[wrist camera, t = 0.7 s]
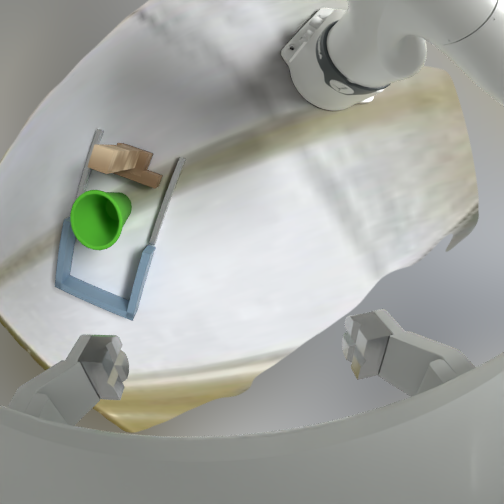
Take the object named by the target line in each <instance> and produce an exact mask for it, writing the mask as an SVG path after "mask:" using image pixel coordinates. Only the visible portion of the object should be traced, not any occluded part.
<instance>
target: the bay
mask: <svg viewBox="0 0 504 504" xmlns="http://www.w3.org/2000/svg"><path fill="white" fill-rule="evenodd" d="M75 239H76V236H75V235H74V233H73V230H72V227H71V222H70V217H68V218H66V219H64V222H63V228H62V234H61V240H60V246H59V253H58V261H57V270H56V280H55V287H57V288H59V289H61V290H63V291H65V292H67V293H69V294H71V295H73V296H75V297H78V298H80V299H82V300H84V301H86V302H89V303H91V304H93V305H96V306H98V307H100V308H103V309H105V310H107V311H110V312H112V313H115V314H117V315H119V316H122V317H125V318H127V319H130V320H132V321H133V318H134V316H135V314H136V312H137V310H138V306H139V302H140V298H141V295H142V291H143V288H144V284H145V281H146V277H147V274H148V270H149V267H150V264H151V260H152V257H153V254H154V251H155V248H156V247H154V246H151V245H147V247H146V248H145V249H144V251H143V252H142V256H141V259H140V263H139V266H138V270H137V274H136V277H135V281H134V285H133V289H132V293H131V297H130V301H129V300H127V299H124V298H122V297H119V296H117V295H114V294H112V293H109V292H107V291H105V290H102V289H100V288H98V287H95V286H93V285H91V284H88V283H86V282H84V281H82V280H79V279H77V278H75V277H73V276H71V275H70V270H71V263H72V256H73V250H74V244H75Z"/></svg>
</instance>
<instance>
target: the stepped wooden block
mask: <svg viewBox="0 0 504 504" xmlns="http://www.w3.org/2000/svg"><path fill="white" fill-rule="evenodd" d="M152 156H153V153H150V152H147V151H145V150H142V149H139V148H136V147H133V146H130V145H127V144H124V143H117V145H99V144H95V145H94V148H93V151H92V154H91V157H90V160H89V163H88V166H87V167H88V168H91V169H94V170H97V171H99V172H102V173H105V174H109V173H114V174H117V175H119V176H122V177H125V178H128V179H130V180H133V181H136V182H138V183H141V184H144V185H147V186H149V187H152V188H157V187H159V184H160V182H161V179H162V176H163V175H160V174H157V173H154V172H152V171H149V170H147V169H148V166H149V164H150V161H151V158H152Z"/></svg>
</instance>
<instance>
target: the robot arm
mask: <svg viewBox="0 0 504 504" xmlns="http://www.w3.org/2000/svg"><path fill="white" fill-rule="evenodd" d="M347 2H348V9H347V11H346V10H343V9H331V8H321V9H320V10H319V11H318V12H317V13H316V14H315V15H314V16H313V17H312V18H311V19H310V20H309V21H308V22H307V23H306V24H305V25H304V26H303V27H302V28H301V29H300V30H299V31H298V32H297V33H296V35H295V36H294V37H293V38H292V39H291V40H290V41H289V42H288V43H287V45H286V46H285V47H284V48H283V49H282V51H281V55H282V57H283V59H284V60H285V62H286V63H287V65H288V66H289V69H290V73H291V78H292V81H293V83H294V85H295V87H296V89H297V90H298V92H299V93H300V94H301V95H302V96H303V97H304V98H305V99H306V100H307V101H309V102H310V103H312V104H313V105H315V106H317V107H319V108H322V109H326V110H343V109H346V108H349V107H351V106H352V105H354V104H357V103H369V102H371V101H372V100H373V97H374V95H376V94H378V93H380V92H382V91H383V89H384V88H386V87H388V86H389V85H390V84H391V83H394V82H397V81H400V80H404V79H407V78H410V77H413V76H414V75H416V74H417V73H418V72H419V71H420V69H421V68H422V67H423V65H424V63H425V60H426V56H427V47H426V42H425V40H426V41H428V42H429V43H431V44H433V45H434V46H435V47H436V48H437V49H439V50H440V51H441V52H442V53H443V54H444V55H445V56H447V57H448V58H449V59H450V60H451V61H452V62H453V63H454V64H455V65H456V66H457V67H458V68H459V69H460V70H461V71H463V72H464V73H465V74H466V75H467V77H468V78H469V79H470V80H471V81H472V82H473V83H475V85H477V86H478V87H480V88H481V89H482V90H483V91H485V92H486V93H487V94H488V95H489V96H491V97H492V98H493V99H495V100H496V101H497V102H498V103H500V104H501V105H502V106H504V0H347ZM290 47H292V48H293V49H294V50H291V49H290ZM344 326H345V328H346V329H347V331H346V333H345V334H344V335H343V339H342V349H343V353H344V356H345V358H346V359H347V360H348V361H350V362H352V365H351V369H352V371H353V372H354V374H355V376H356V378H357V379H358V380H359V379H363V378H368V377H372V376H376V375H378V376H379V377H381V378H382V379H384V380H386V381H387V382H389V383H390V384H392V385H393V386H395V387H396V388H398V389H400V390H401V391H403V392H404V393H406V394H407V395H409V396H411V397H409V398H406V399H404V400H401V401H398V402H395V403H392V404H389V405H386V406H383V407H380V408H377V409H374V410H370V411H367V412H363V413H360V414H356V415H352V416H348V417H345V418H341V419H336V420H332V421H328V422H323V423H318V424H313V425H308V426H303V427H298V428H291V429H285V430H279V431H271V432H263V433H254V434H243V435H230V436H212V437H167V436H166V437H165V436H147V435H134V434H124V433H115V432H108V431H101V430H94V429H88V428H83V427H77V426H74V425H75V424H76V423H77V422H78V421H79V420H80V419H81V418H82V417H83V416H84V415H85V414H86V413H87V412H88V411H89V410H91V409H92V408H93V407H94V406H95V405H96V404H97V403H98V402H99V401H100V399H109V400H120V399H121V396H122V393H123V390H124V385H123V383H122V382H123V381H125V380H126V379H127V377H128V374H129V363H128V358H127V356H126V354H125V353H124V352H123V351H122V350H120V349H121V347H122V343H121V340H120V338H119V337H118V336H116V335H84V334H83V335H81V336H80V337H79V339H78V340H77V342H76V343H75V345H74V347H73V348H72V350H71V352H70V353H69V355H68V357H67V358H66V360H65V361H63V360H62V361H60V362H59V363H57V364H55V365H54V366H52V367H51V368H49V369H47V370H46V371H44V372H43V373H41V374H39V375H38V376H36V377H35V378H33V379H31V380H30V381H28V382H27V383H25V384H23V385H22V386H20V387H19V388H18V390H17V391H16V393H15V395H14V396H13V398H12V400H11V402H10V404H9V405H8V407H4V406H1V405H0V504H504V352H503V353H501V354H499V355H498V356H496V357H494V358H492V359H491V360H489V361H487V362H485V363H484V364H482V365H480V366H478V367H475V366H474V365H473V364H472V363H471V362H470V361H469V360H468V359H467V357H466V356H465V355H464V354H463V353H462V352H461V351H459V350H458V349H455V348H453V347H450V346H447V345H445V344H442V343H439V342H437V341H434V340H431V339H428V338H426V337H423V336H420V335H418V334H415V333H412V332H410V331H407V332H405V331H404V330H403V329H402V327H401V326H400V325H399V324H398V323H397V322H396V321H395V320H394V319H393V317H392V316H391V315H390V314H389V313H388V312H387V311H386V310H384V309H380V310H376V311H372V312H368V313H363V314H358V315H352V316H347V317H346V319H345V325H344Z"/></svg>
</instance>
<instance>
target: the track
mask: <svg viewBox="0 0 504 504" xmlns="http://www.w3.org/2000/svg"><path fill="white" fill-rule="evenodd" d="M103 132H104V131H102V130H99V129H97V130H96V133H95V136H94V139H93V142H92V145H91V148H90V151H89V154H88V157H87V160H86V164H85V167H84V170H83V174H82V177H81V181H80V185H79V189H78V193H77V197H76V199H77V198H78V197H79V196H80V195H81V194H83V193H84V192H85V190H86V186H87V182H88V179H89V175H90V172H91V168H88V167H87V166H88V163H89V160H90V157H91V154H92V151H93V148H94V145H95V144H100V141H101V138H102V135H103ZM185 161H186V159H184V158H182V157H180V158H179V161H178V163H177V166H176V168H175V171H174V173H173V176H172V178H171V181H170V184H169V186H168V189H167V192H166V195H165V197H164V200H163V203H162V206H161V209H160V211H159V214H158V217H157V220H156V223H155V226H154V229H153V232H152V236H151V239H150V242H149V243H150V244H152V245H155V243H156V240H157V237H158V234H159V231H160V228H161V225H162V222H163V219H164V217H165V214H166V211H167V208H168V205H169V202H170V200H171V197H172V194H173V192H174V189H175V186H176V184H177V181H178V179H179V176H180V173H181V171H182V168H183V166H184V163H185Z"/></svg>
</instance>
